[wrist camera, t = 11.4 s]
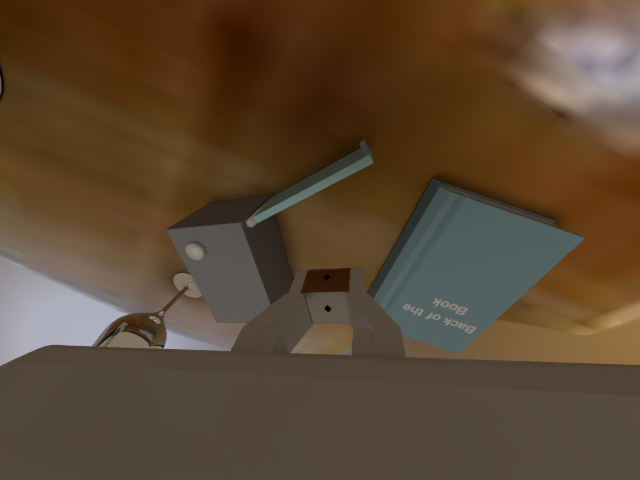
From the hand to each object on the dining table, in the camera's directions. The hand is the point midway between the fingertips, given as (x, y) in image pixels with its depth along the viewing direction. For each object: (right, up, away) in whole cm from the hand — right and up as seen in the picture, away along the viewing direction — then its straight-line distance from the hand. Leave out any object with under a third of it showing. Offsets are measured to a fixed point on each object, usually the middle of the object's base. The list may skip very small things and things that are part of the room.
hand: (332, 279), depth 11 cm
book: (+18, -2, +24) cm, 30 cm away
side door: (-1, +11, +19) cm, 22 cm away
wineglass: (-27, -7, +35) cm, 44 cm away
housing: (-11, 0, +27) cm, 30 cm away
